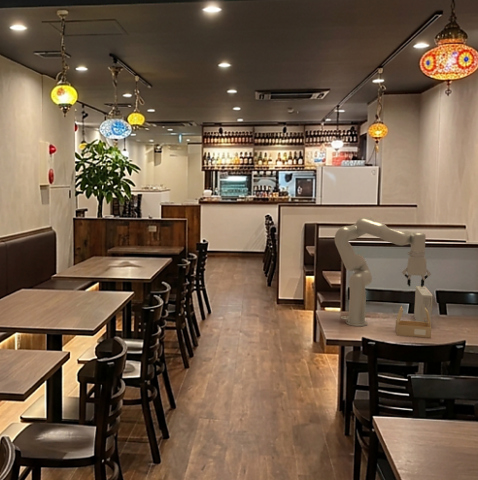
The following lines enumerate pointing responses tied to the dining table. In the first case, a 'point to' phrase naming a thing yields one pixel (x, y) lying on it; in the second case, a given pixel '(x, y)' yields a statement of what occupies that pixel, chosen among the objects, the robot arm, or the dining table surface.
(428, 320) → the flap
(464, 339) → the dining table surface
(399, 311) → the flap
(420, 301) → the packaging
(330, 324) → the dining table surface
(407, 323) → the carton
